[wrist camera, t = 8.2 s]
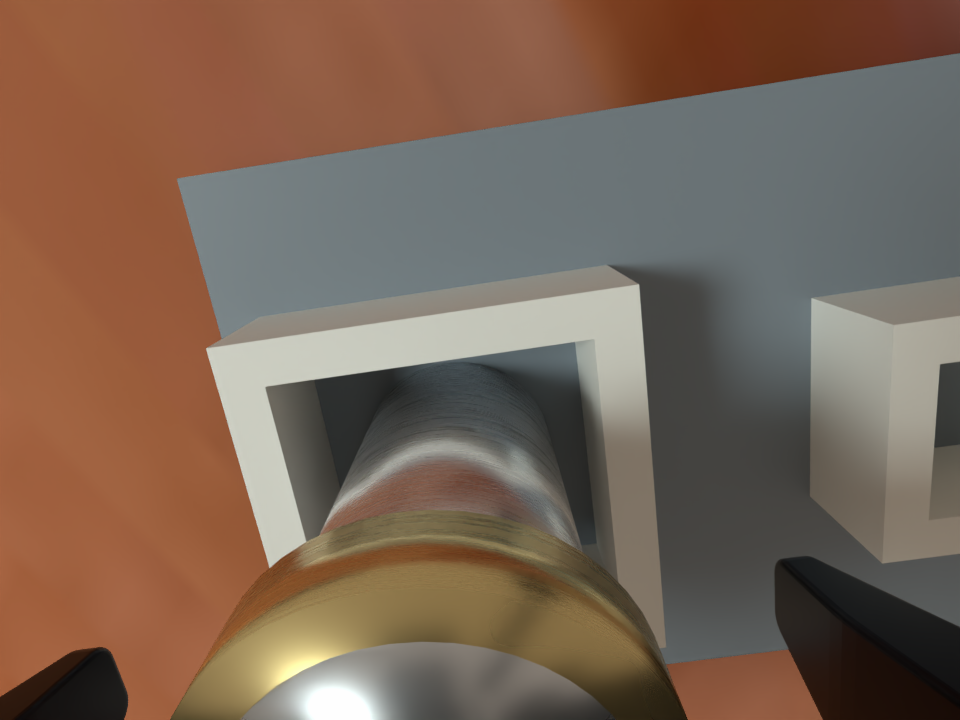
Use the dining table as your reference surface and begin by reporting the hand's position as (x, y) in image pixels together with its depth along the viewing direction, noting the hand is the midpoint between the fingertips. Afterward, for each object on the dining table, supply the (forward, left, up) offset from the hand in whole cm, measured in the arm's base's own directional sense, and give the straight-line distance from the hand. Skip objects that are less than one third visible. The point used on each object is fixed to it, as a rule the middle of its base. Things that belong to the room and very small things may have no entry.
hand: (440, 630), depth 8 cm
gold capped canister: (0, 0, -5) cm, 5 cm away
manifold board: (-5, 0, -7) cm, 9 cm away
